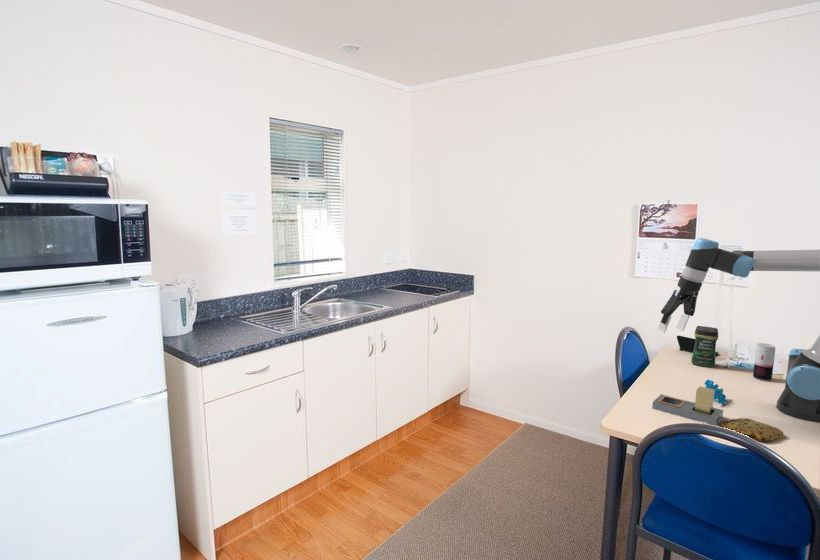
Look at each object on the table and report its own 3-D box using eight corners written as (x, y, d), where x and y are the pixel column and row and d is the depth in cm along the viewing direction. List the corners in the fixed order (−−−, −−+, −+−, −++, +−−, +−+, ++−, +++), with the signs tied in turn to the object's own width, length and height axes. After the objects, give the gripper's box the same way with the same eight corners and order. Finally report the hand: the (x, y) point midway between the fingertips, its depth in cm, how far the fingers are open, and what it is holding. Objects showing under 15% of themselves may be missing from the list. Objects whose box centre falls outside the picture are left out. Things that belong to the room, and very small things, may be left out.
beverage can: (775, 380, 201) (779, 346, 199) (765, 382, 199) (769, 348, 197) (759, 375, 207) (763, 342, 205) (749, 377, 205) (753, 344, 203)
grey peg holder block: (722, 416, 163) (723, 409, 163) (716, 425, 156) (717, 417, 156) (660, 400, 177) (661, 393, 177) (652, 408, 170) (652, 401, 170)
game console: (719, 355, 238) (721, 338, 236) (706, 359, 230) (708, 341, 229) (688, 347, 251) (689, 331, 249) (674, 351, 243) (676, 334, 242)
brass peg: (711, 416, 163) (714, 389, 162) (708, 420, 160) (711, 393, 159) (697, 412, 166) (699, 386, 165) (693, 416, 163) (696, 389, 162)
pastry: (794, 449, 142) (795, 440, 142) (727, 438, 148) (728, 429, 148) (774, 425, 158) (775, 417, 157) (714, 417, 164) (715, 409, 164)
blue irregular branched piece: (720, 403, 171) (703, 379, 176) (706, 410, 175) (689, 386, 180) (734, 401, 177) (716, 378, 182) (720, 408, 181) (703, 385, 186)
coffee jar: (690, 365, 220) (694, 327, 218) (691, 361, 227) (695, 323, 224) (715, 369, 215) (719, 330, 212) (715, 364, 221) (719, 326, 219)
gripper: (698, 276, 184) (678, 324, 190) (664, 275, 170) (643, 327, 176) (717, 283, 178) (696, 332, 184) (684, 282, 164) (662, 336, 171)
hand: (670, 330), depth 180 cm, fingers open, 13 cm apart
